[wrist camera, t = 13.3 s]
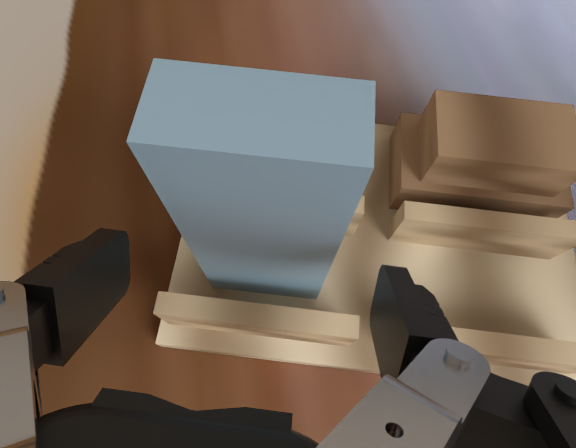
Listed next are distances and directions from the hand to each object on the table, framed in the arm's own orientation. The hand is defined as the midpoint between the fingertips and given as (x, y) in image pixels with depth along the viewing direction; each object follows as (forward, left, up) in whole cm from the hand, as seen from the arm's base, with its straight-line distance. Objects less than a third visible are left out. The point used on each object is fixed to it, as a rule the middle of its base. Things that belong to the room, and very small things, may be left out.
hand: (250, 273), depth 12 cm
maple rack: (-6, -6, -10) cm, 13 cm away
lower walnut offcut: (-11, -10, -8) cm, 17 cm away
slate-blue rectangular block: (0, -3, -8) cm, 9 cm away
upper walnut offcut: (-11, -10, -6) cm, 16 cm away
